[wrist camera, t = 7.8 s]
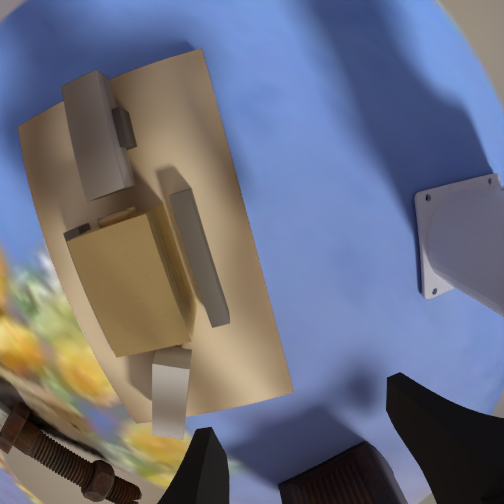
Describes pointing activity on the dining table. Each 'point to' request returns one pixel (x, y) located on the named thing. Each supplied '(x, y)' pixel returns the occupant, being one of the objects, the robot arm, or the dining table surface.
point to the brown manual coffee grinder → (345, 480)
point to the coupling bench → (182, 223)
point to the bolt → (65, 460)
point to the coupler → (136, 280)
